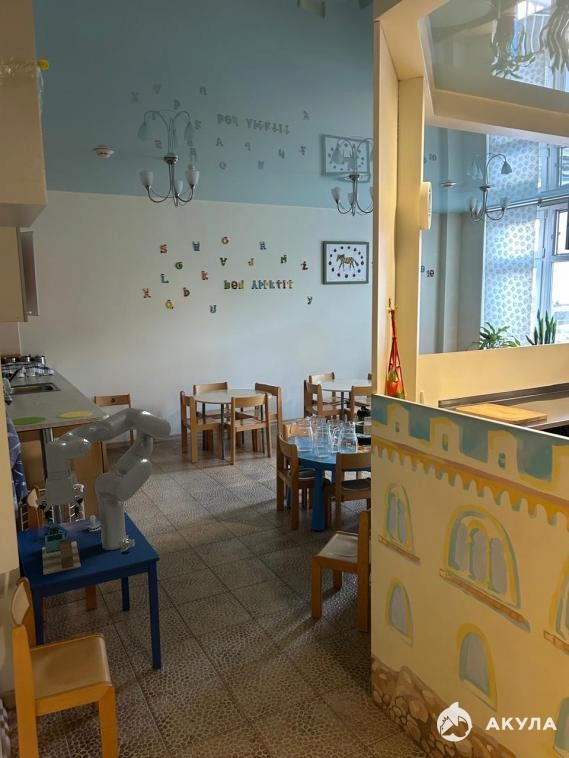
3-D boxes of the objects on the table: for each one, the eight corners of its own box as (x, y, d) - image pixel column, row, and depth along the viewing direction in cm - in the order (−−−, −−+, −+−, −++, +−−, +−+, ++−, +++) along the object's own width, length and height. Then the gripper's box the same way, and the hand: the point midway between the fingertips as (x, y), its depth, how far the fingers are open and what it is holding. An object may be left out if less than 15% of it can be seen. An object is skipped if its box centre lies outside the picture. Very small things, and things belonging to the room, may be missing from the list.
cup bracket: (66, 559, 219) (64, 536, 217) (47, 563, 216) (45, 540, 214) (64, 544, 231) (62, 522, 230) (46, 548, 229) (44, 526, 227)
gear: (74, 532, 243) (55, 521, 238) (66, 544, 240) (47, 534, 235) (63, 528, 251) (44, 517, 245) (55, 540, 248) (36, 530, 243)
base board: (81, 570, 213) (80, 566, 213) (43, 578, 208) (43, 574, 208) (76, 544, 235) (76, 541, 235) (42, 551, 230) (42, 547, 229)
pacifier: (106, 528, 251) (97, 524, 254) (105, 514, 250) (96, 511, 253) (92, 534, 245) (83, 530, 249) (91, 520, 244) (82, 517, 247)
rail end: (73, 566, 213) (71, 544, 212) (62, 568, 212) (60, 546, 210) (72, 561, 217) (70, 539, 215) (61, 564, 215) (59, 542, 214)
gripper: (82, 468, 215) (86, 510, 218) (33, 474, 208) (37, 518, 211) (84, 473, 208) (87, 517, 211) (33, 480, 201) (37, 526, 204)
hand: (62, 518), depth 211 cm, fingers open, 9 cm apart
